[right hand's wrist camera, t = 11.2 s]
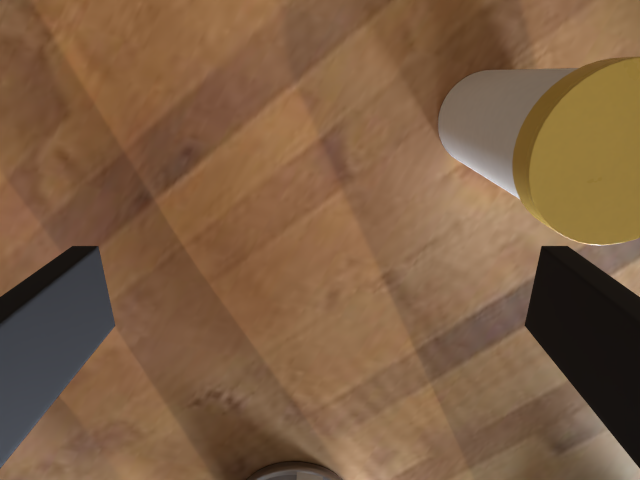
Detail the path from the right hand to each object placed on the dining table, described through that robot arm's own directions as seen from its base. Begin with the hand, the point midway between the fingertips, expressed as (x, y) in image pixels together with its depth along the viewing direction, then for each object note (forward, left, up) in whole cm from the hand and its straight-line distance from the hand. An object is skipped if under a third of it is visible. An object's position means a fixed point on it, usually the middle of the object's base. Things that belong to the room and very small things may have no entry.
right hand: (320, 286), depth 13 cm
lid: (-3, -15, -9) cm, 18 cm away
